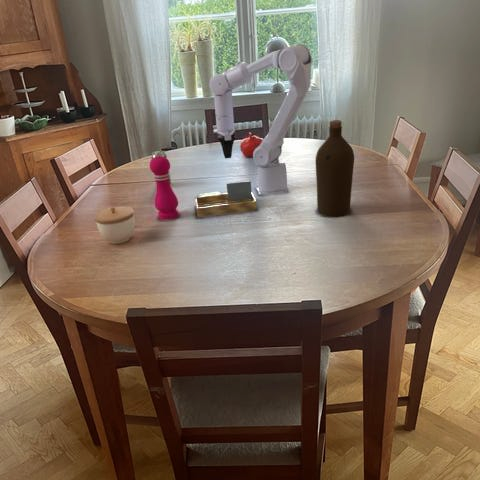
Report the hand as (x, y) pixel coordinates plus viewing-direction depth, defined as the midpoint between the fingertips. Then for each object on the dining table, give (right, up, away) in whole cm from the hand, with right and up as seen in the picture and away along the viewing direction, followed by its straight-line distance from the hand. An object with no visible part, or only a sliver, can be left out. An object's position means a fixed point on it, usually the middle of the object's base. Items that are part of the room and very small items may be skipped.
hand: (227, 157), depth 162 cm
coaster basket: (0, -20, -11) cm, 23 cm away
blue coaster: (+4, -19, -11) cm, 23 cm away
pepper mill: (-18, -23, -13) cm, 32 cm away
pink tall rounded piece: (-24, -6, +14) cm, 29 cm away
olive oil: (+32, -23, -21) cm, 44 cm away
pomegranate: (+9, +14, +40) cm, 43 cm away
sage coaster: (-6, -12, +1) cm, 14 cm away
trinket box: (-30, -32, -25) cm, 51 cm away
